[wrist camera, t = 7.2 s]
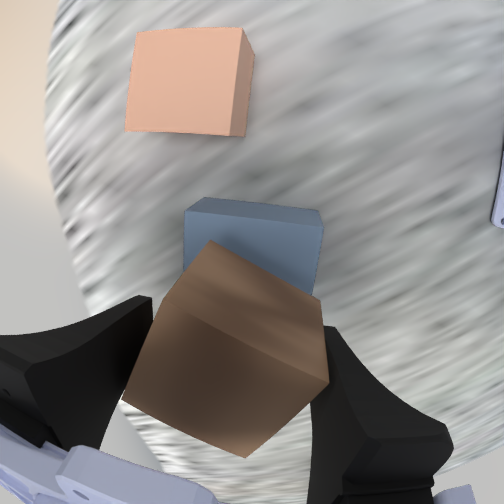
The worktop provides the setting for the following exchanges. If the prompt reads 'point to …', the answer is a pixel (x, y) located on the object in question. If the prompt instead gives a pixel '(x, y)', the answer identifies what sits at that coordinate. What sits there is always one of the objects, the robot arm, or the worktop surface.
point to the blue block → (258, 236)
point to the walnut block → (230, 354)
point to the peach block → (190, 81)
